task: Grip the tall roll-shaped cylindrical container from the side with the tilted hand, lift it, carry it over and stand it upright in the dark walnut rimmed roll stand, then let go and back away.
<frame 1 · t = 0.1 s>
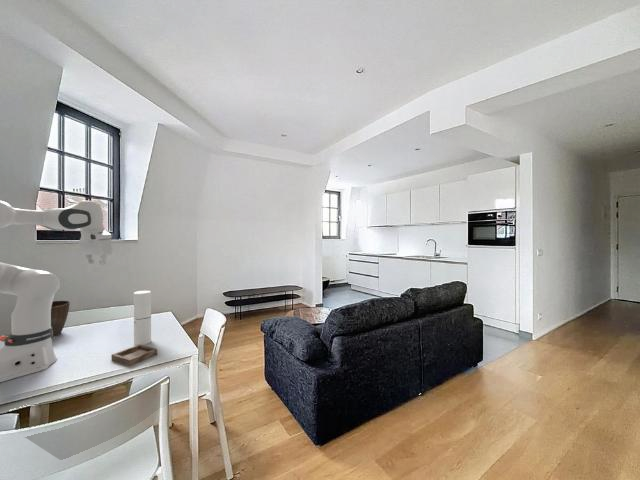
hand: (97, 263, 132), 39 cm above the table, tool pointing down, fingers open, 8 cm apart
roll stand: (134, 357, 120), on the table
plant pot: (51, 334, 145), on the table
cylindrical container: (142, 342, 137), on the table
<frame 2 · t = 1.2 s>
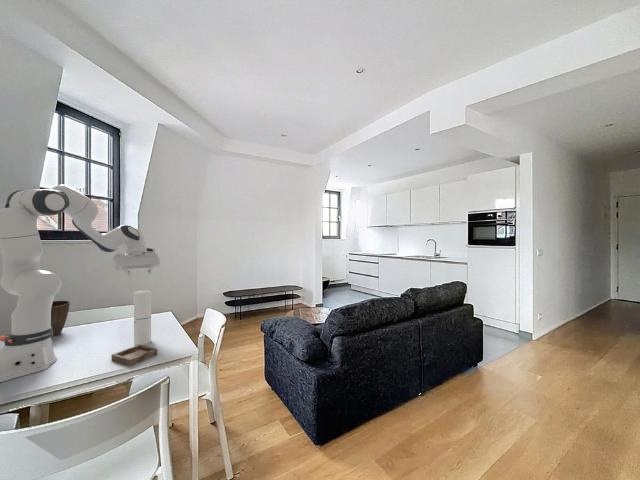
hand: (139, 273, 145), 33 cm above the table, tool tilted 45°, fingers open, 8 cm apart
nothing on the table moved.
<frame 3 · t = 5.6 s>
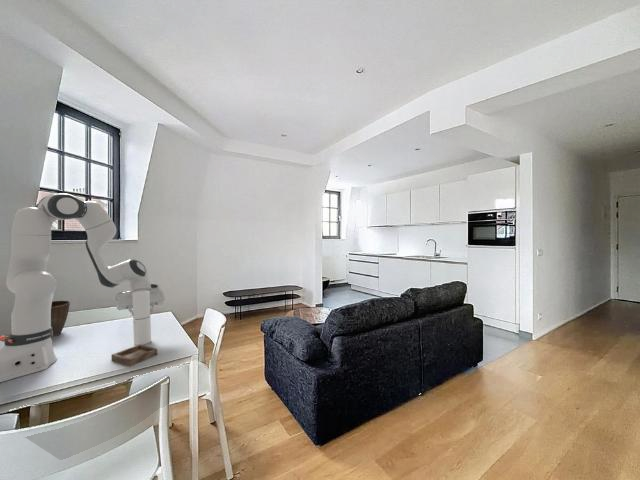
hand: (142, 313, 136), 14 cm above the table, tool tilted 45°, fingers open, 6 cm apart
cylindrical container: (142, 342, 137), on the table, touching gripper
everything else where it was.
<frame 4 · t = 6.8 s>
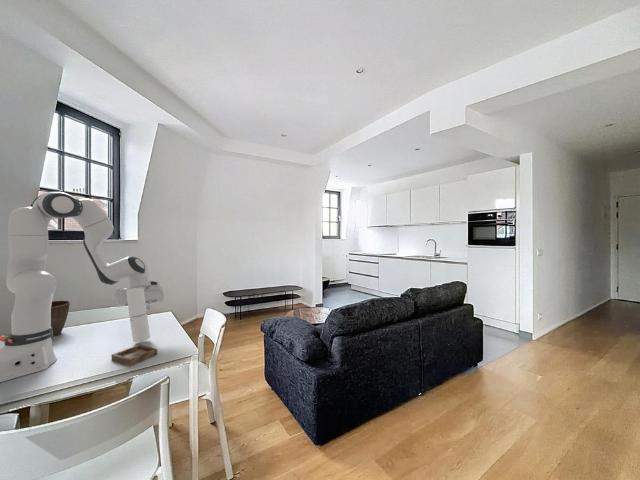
hand: (142, 310, 135), 16 cm above the table, tool tilted 45°, fingers closed on cylindrical container, 4 cm apart
cylindrical container: (141, 339, 136), point 2 cm above the table, touching gripper
everything else where it was.
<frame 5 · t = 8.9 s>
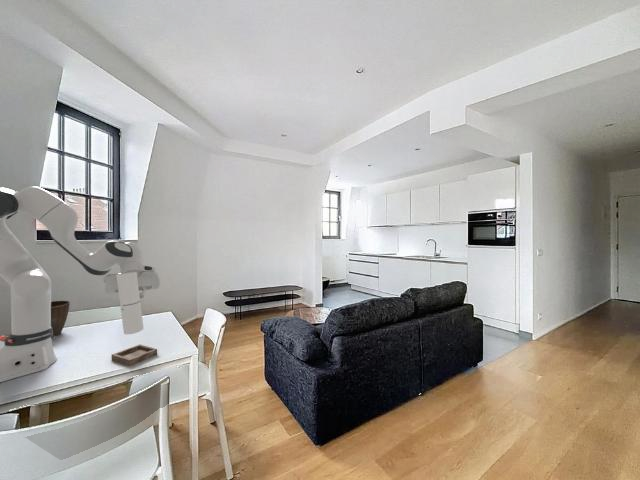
hand: (134, 298, 119), 26 cm above the table, tool tilted 45°, fingers closed on cylindrical container, 4 cm apart
cylindrical container: (134, 331, 120), point 12 cm above the table, touching gripper
everything else where it was.
when the fingers open (17 cm above the table, at t = 10.9 s): cylindrical container moves 1 cm, resting on roll stand.
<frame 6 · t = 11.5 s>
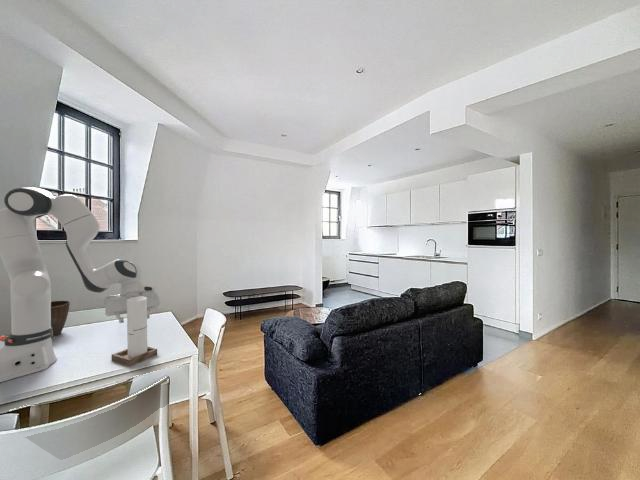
hand: (135, 320, 120), 17 cm above the table, tool tilted 45°, fingers open, 8 cm apart
cylindrical container: (137, 355, 120), point 1 cm above the table, touching gripper, roll stand
everything else where it was.
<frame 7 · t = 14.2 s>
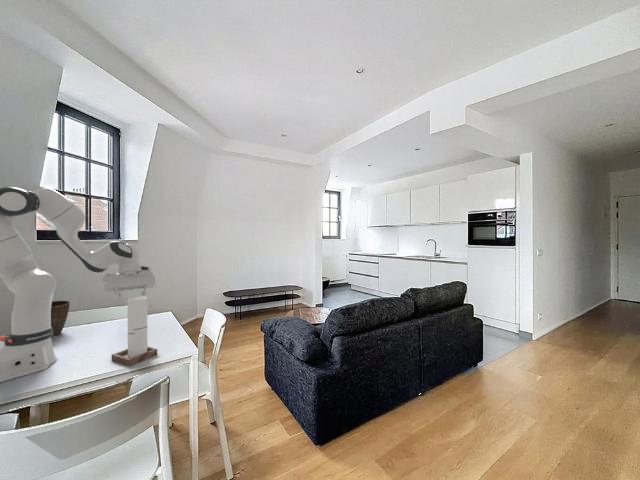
hand: (131, 296, 128), 25 cm above the table, tool tilted 45°, fingers open, 8 cm apart
cylindrical container: (137, 355, 120), point 1 cm above the table, touching roll stand
everything else where it was.
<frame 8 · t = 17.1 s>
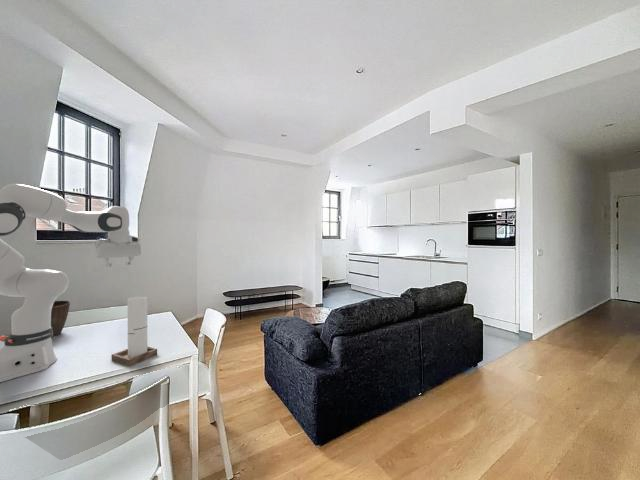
hand: (119, 266, 140), 37 cm above the table, tool pointing down, fingers open, 8 cm apart
nothing on the table moved.
at the end: cylindrical container 1.4 cm off-centre on the roll stand, point 0.8 cm above the roll stand's base; cylindrical container tilted 0°; the gripper is holding nothing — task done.
